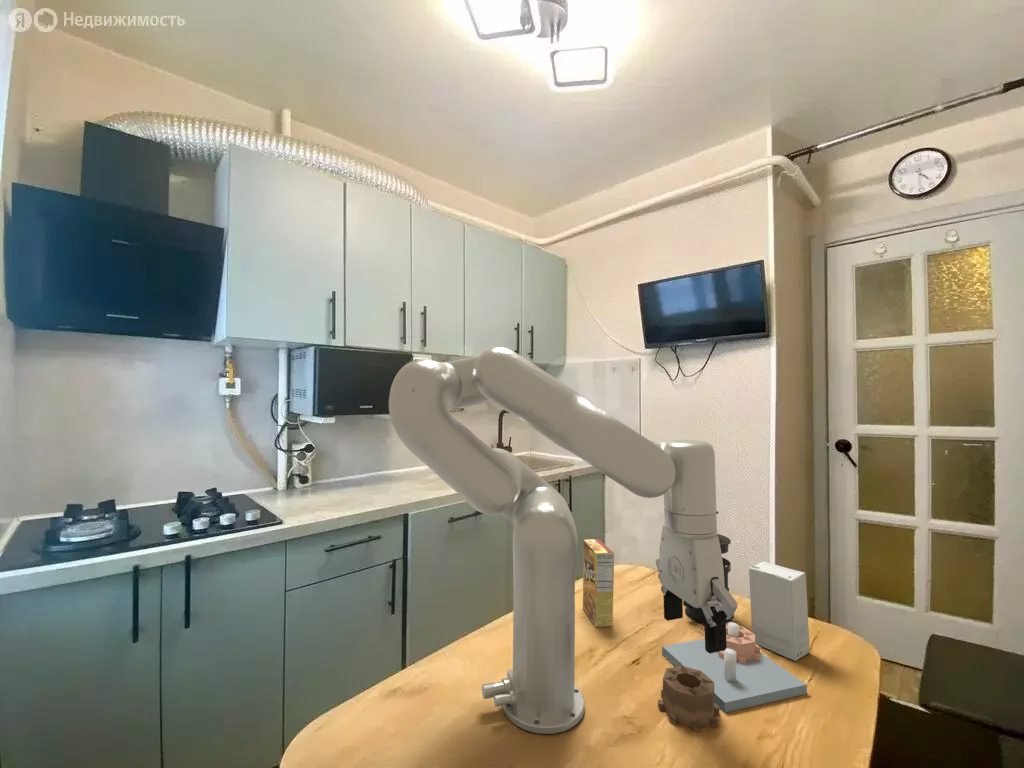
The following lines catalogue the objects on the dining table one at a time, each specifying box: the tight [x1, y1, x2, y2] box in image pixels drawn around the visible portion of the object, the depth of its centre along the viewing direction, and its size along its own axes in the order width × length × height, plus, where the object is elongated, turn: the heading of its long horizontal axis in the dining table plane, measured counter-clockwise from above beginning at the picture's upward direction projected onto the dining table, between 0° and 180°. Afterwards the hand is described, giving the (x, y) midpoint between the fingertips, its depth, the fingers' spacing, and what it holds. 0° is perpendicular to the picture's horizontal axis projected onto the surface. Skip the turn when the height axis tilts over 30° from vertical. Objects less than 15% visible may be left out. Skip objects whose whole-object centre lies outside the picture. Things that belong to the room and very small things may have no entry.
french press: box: [682, 510, 733, 626], centre depth 99 cm, size 12×9×23 cm
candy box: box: [582, 538, 615, 628], centre depth 99 cm, size 9×4×15 cm, turn 9°
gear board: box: [661, 621, 808, 713], centre depth 79 cm, size 16×16×6 cm
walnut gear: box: [657, 666, 720, 733], centre depth 70 cm, size 8×8×4 cm
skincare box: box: [748, 561, 811, 662], centre depth 87 cm, size 8×6×15 cm
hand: (693, 633), depth 70 cm, fingers open, 9 cm apart
